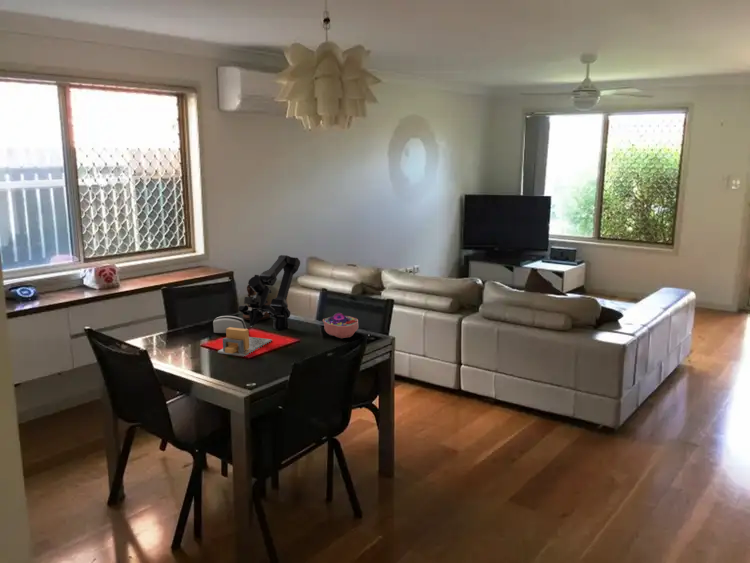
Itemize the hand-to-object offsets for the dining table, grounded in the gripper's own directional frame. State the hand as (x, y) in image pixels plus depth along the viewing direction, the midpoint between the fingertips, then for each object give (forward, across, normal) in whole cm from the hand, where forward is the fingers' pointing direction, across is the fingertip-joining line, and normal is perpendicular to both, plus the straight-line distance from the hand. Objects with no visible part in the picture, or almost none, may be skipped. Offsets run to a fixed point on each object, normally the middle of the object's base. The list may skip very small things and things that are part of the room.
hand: (251, 326), depth 301 cm
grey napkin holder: (-1, -23, +11) cm, 26 cm away
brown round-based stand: (-18, -28, +31) cm, 45 cm away
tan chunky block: (+15, +1, -6) cm, 16 cm away
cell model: (-9, +30, +31) cm, 44 cm away
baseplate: (+10, 0, +2) cm, 10 cm away
